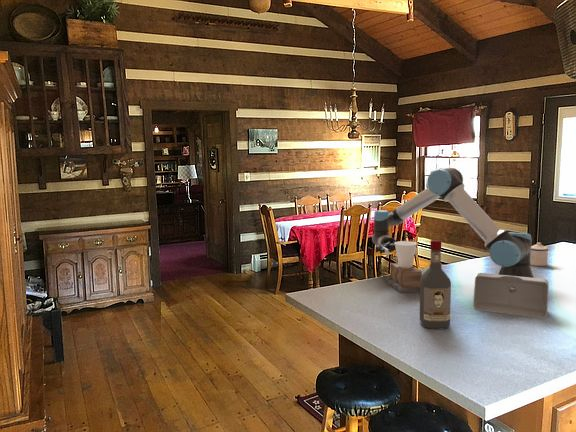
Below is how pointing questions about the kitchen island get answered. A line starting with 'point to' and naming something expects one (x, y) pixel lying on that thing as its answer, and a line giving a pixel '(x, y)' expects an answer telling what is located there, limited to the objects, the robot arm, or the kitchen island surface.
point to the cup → (405, 253)
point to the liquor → (435, 292)
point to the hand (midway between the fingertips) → (402, 251)
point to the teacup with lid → (539, 255)
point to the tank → (511, 295)
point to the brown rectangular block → (404, 278)
